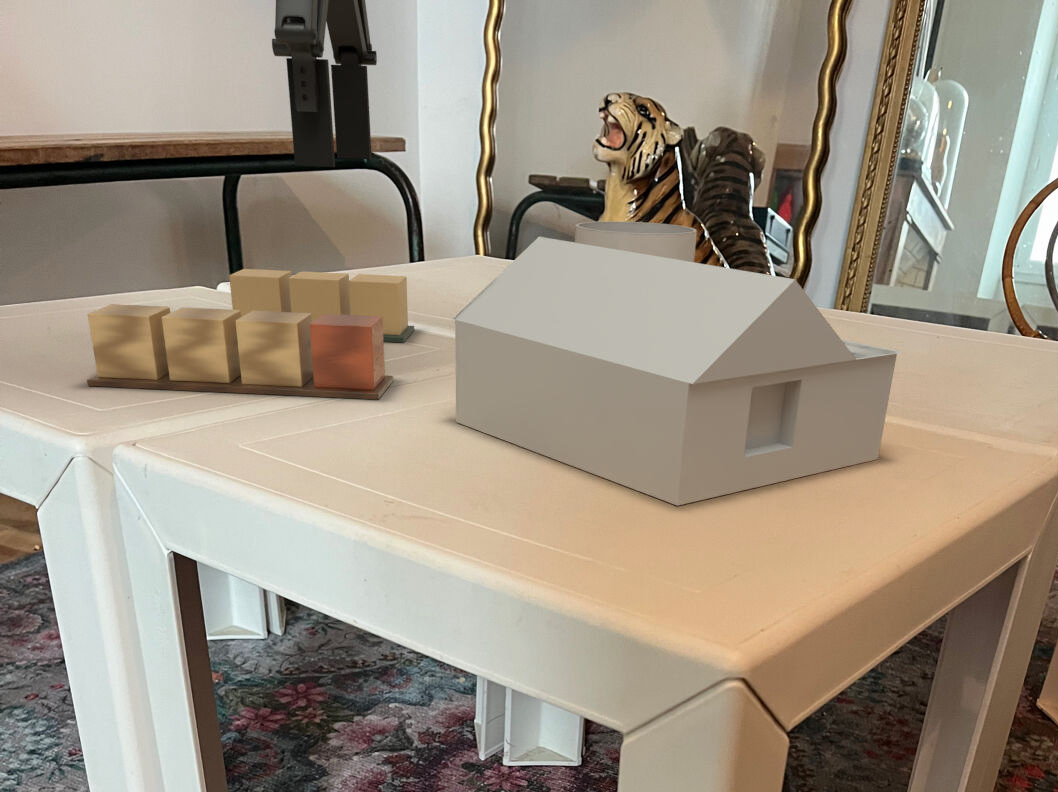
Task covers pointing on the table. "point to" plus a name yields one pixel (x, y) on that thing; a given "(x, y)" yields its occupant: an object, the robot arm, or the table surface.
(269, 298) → the block row
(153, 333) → the front word
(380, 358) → the copper orange cube
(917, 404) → the table surface
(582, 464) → the toy house
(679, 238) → the planter
